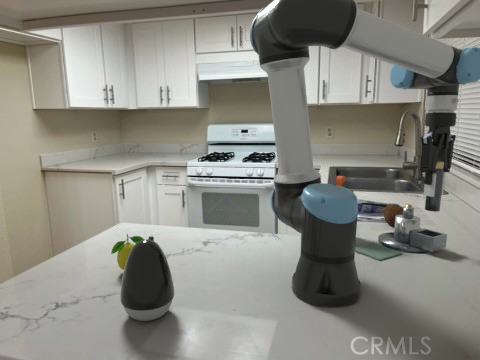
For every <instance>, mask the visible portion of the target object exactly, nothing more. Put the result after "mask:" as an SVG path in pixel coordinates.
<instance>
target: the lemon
mask: <svg viewBox="0 0 480 360" xmlns="http://www.w3.org/2000/svg"><path fill="white" fill-rule="evenodd" d="M129 239H130V240H131V241H132V242H133V243H132V242H129ZM142 240H145V239H144V237H141V236H140V235H134V236H131V237H130V236H129V234H128V233H126V240H122V241H121V240H120V241H118V242H116V243H115V244H114V245H113V246H112V248H111V252H110V253H111V255H113V254H116V253H117V254H116V255H117V256H116V262H117V264H118V265H117V266H118V267H119V268H120V269H121V270H123V271H124V269H125V265H126V261H127V258H128V256H129V253H130V251H131V250H132V248H133V247H134V245H135V244H136V243H138V242H139V241H142ZM134 243H135V244H134Z"/></svg>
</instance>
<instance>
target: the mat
mask: <svg viewBox="0 0 480 360" xmlns="http://www.w3.org/2000/svg"><path fill="white" fill-rule="evenodd" d="M355 253H359V254H361V255H363V256H366V257H369V258H371V259H374V260H375V261H378V262H380V261H384V260H387V259H390V258H393V257H397V256H400V255H402V254H403V251H398V250H394V249H391V248H388V247H385V246H383V245H382V244H380V243H379V244H378V243H376V242H369V243H366V244H362V245H358V246H355Z"/></svg>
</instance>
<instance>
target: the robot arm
mask: <svg viewBox="0 0 480 360" xmlns="http://www.w3.org/2000/svg"><path fill="white" fill-rule="evenodd" d="M249 40H250V44H251V47H252V49H253V51H254V52H255V53H256V54H257V55H258V60H259V68H260V69H261V70H263V71H264V72H265V73H266V74H267V80H268V90H269V97H270V98H269V99H270V106H271V115H272V123H273V124H272V125H273V134H274V142H275V149H276V158H277V168H278V172H277V174H276V175H275V176H274V177H273V184H274V188H273V189H272V191H271V194H270V200H269V201H270V207H271V210H272V212H273V214H274V215H275V217H276V218H277V219H278V220H279V221H280V222H281V223H283V224H285V225H286V226H288V227H290V228H291V229H292V230H294V231H296V232H298V233H299V234H300V255H299V259H298V262H297V264H296V268H295V272H294V273H293V274H292V278H291V291H292V293H293V294H294V295H295V296H296V297H297V298H299V299H300V300H302V301H304V302H307V303H308V304H313V305H315V306H320V307H326V308H327V307H329V308H341V307H342V308H343V307H347V306H350V305H354V304H355V303H357V302H359V300H360V299H361V296H362V283H361V280H360V279H359V274H358V271H357V270H358V269H357V266H356V262H355V255H356V252H355V247H356V240H357V238H356V237H357V226H358V215H359V206H358V198H357V195H356V193H355V192H352V191H351V190H352V189H351V190H349V189H350V188H346V187H345V186H343V185H342V186H335V185H336V184H335V185H334V184H332V183H325V182H323V183H322V178H321V177H322V176H321V173H320V172H319V171H318V170H316V169H315V167H314V160H313V151H312V139H311V128H310V118H309V107H308V97H307V95H308V94H307V86H306V76H305V67H306V65H307V64H308V63H309V62H310V60H311V59H310V58H311V57H310V49H309V47H314V46H315V47H325V48H327V49H331V50H333V51H334V50H338V49H340V48H344V49H347V50H350V51H352V52H356V53H359V54H362V55H364V56H367V57H370V58H373V59H375V60H379V61H381V62H385V63H387V64H390V65H392V66H391V69H390V71H389V73H390V74H389V81H390V83H391V85H392V87H394V88H395V89H403V90H427V91H426V92H427V94H426V104H425V111H427V113H425V116H424V117H425V118H424V126H425V127H428V130H427V132H426V133H427V134H425V135H420V143H421V145H420V146H421V150H420V169H419V170H420V171H421V173H423V174H425V175H424V186H423V196H425V197H426V196H431V197H434V194H435V183H436V174H435V173H434V172H435V167H436V162H437V161H442V162H444V171H443V182H442V192H441V196H444V189H445V182H446V180H445V179H446V173H450V171H451V168H452V161H453V155H454V153H453V152H454V145H455V141H456V139H457V136H456V134H451V127H455V126H456V123H457V113H456V112H455V111H456V110H458V103H459V101H460V100H459V89H460V86H461V85H463V86H464V85H466V84H471V83H476V82H478V81H480V47H477V46H476V47H465V48H462V49H461V48H457V47H454V46H452V45H449V44H447V43H445V42H442V41H440V40H437V39H435V38H433V37H430V36H428V35H425V34H422V33H419V32H417V31H414V30H413V29H410V28H407V27H405V26H402V25H401V24H397V23H395V22H393V21H390V20H388V19H385V18H382V17H379V16H377V15H375V14H373V13H370V12H367V11H366V10H362V9H359V6H358V3H357V2H356V0H272V1H271V2H270V3H268V4H266V5H265V6H263V7H262V8H261V9H260V11H258V13H257V15H256V16H255V17H254V19H253V20H252V23H251V25H250V29H249Z"/></svg>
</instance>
